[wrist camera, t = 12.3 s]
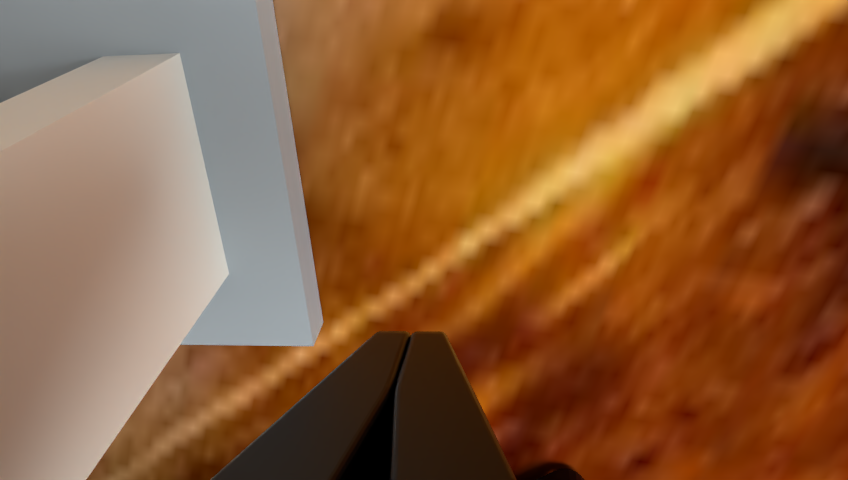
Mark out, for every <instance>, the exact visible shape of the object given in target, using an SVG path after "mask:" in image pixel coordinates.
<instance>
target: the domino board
mask: <svg viewBox="0 0 848 480" xmlns="http://www.w3.org/2000/svg"><path fill="white" fill-rule="evenodd" d="M170 53H180V57H181V61H182V66H183V70H184V75H185V79H186V84H187V88H188V93H189V97H190V101H191V106H192V110H193V115H194V119H195V124H196V128H197V133H198V137H199V142H200V146H201V151H202V155H203V160H204V164H205V169H206V173H207V178H208V182H209V186H210V191H211V195H212V200H213V204H214V209H215V213H216V218H217V222H218V227H219V231H220V236H221V240H222V245H223V249H224V254H225V258H226V263H227V267H228V272H229V275H228V276H227V278H226V279H225V280H224V282H223V283H222V285H221V286H220V288H219V289H218V291H217V292H216V293H215V295H214V296H213V298H212V299H211V301H210V302H209V304H208V305H207V306H206V308H205V309H204V311H203V312H202V314H201V315H200V316H199V318H198V319H197V321H196V322H195V324H194V325H193V327H192V328H191V329H190V331H189V332H188V334H187V335H186V337H185V338H184V340H183V341H182V342H181V344H180V345H253V346H314V344H315V341H316V339H317V336H318V334H319V332H320V329H321V327H322V324H323V317H322V311H321V305H320V298H319V292H318V286H317V279H316V273H315V267H314V260H313V254H312V247H311V241H310V235H309V228H308V222H307V216H306V209H305V203H304V196H303V190H302V184H301V177H300V171H299V165H298V158H297V152H296V146H295V139H294V133H293V126H292V120H291V114H290V107H289V101H288V95H287V88H286V82H285V75H284V69H283V63H282V56H281V50H280V44H279V37H278V31H277V25H276V18H275V12H274V5H273V0H0V103H1V102H4V101H6V100H8V99H10V98H12V97H15V96H17V95H19V94H21V93H23V92H26V91H28V90H30V89H32V88H34V87H37V86H39V85H41V84H43V83H45V82H48V81H50V80H52V79H54V78H56V77H59V76H61V75H63V74H65V73H68V72H70V71H72V70H74V69H76V68H79V67H81V66H83V65H85V64H87V63H90V62H92V61H94V60H96V59H98V58H101V57H103V56H123V55H147V54H170Z"/></svg>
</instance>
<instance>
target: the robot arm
mask: <svg viewBox="0 0 848 480" xmlns="http://www.w3.org/2000/svg"><path fill="white" fill-rule="evenodd" d="M210 480H517V479H516V477H515V475H514V473H513V471H512V469H511V467H510V465H509V463H508V461H507V459H506V457H505V455H504V453H503V451H502V448H501V446H500V444H499V442H498V440H497V438H496V436H495V434H494V432H493V430H492V428H491V426H490V424H489V422H488V420H487V418H486V415H485V413H484V411H483V409H482V407H481V405H480V403H479V401H478V399H477V397H476V395H475V393H474V391H473V389H472V387H471V385H470V382H469V380H468V378H467V376H466V374H465V372H464V370H463V368H462V366H461V364H460V362H459V360H458V358H457V356H456V354H455V351H454V349H453V347H452V345H451V343H450V341H449V339H448V337H447V335H446V334H445V333H444V332H418V331H417V332H414V333H413V334H412V335H410V333H408V332H406V331H379V332H377V333H375V334H374V335H373V336H372V337H371V338H370V339H368V340H367V341H366V342H365V343H364V344H363V345H362V346H361V347H359V348H358V349H357V350H356V351H355V352H354V353H353V354H351V355H350V356H349V357H348V358H347V359H346V360H345V361H344V362H342V363H341V364H340V365H339V366H338V367H337V368H336V369H335V370H333V371H332V372H331V373H330V374H329V375H328V376H327V377H326V378H324V379H323V380H322V381H321V382H320V383H319V384H318V385H317V386H315V387H314V388H313V389H312V390H311V391H310V392H309V393H307V394H306V395H305V396H304V397H303V398H302V399H301V400H300V401H298V402H297V403H296V404H295V405H294V406H293V407H292V408H291V409H289V410H288V411H287V412H286V413H285V414H284V415H283V416H282V417H280V418H279V419H278V420H277V421H276V422H275V423H274V424H273V425H271V426H270V427H269V428H268V429H267V430H266V431H265V432H263V433H262V434H261V435H260V436H259V437H258V438H257V439H256V440H254V441H253V442H252V443H251V444H250V445H249V446H248V447H247V448H245V449H244V450H243V451H242V452H241V453H240V454H239V455H238V456H236V457H235V458H234V459H233V460H232V461H231V462H230V463H228V464H227V465H226V466H225V467H224V468H223V469H222V470H221V471H219V472H218V473H217V474H216V475H215V476H214V477H213V478H212V479H210ZM535 480H584V479H583V478H582V477H581V475H579V474H578V473H577V472H575V471H572V470H569V469H560V470H556V471H553V472H551V473H549V474H547V475H544V476H542V477H540V478H538V479H535Z"/></svg>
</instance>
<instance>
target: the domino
mask: <svg viewBox="0 0 848 480" xmlns="http://www.w3.org/2000/svg"><path fill="white" fill-rule="evenodd" d="M228 275H229V272H228V267H227V263H226V258H225V254H224V249H223V245H222V240H221V236H220V231H219V227H218V222H217V218H216V213H215V209H214V204H213V200H212V195H211V191H210V186H209V182H208V178H207V173H206V169H205V164H204V160H203V155H202V151H201V146H200V142H199V137H198V133H197V128H196V124H195V119H194V115H193V110H192V106H191V101H190V97H189V93H188V88H187V84H186V79H185V75H184V70H183V66H182V61H181V57H180V53H170V54H147V55H123V56H103V57H101V58H98V59H96V60H94V61H92V62H90V63H87V64H85V65H83V66H81V67H79V68H76V69H74V70H72V71H70V72H68V73H65V74H63V75H61V76H59V77H56V78H54V79H52V80H50V81H48V82H45V83H43V84H41V85H39V86H37V87H34V88H32V89H30V90H28V91H26V92H23V93H21V94H19V95H17V96H15V97H12V98H10V99H8V100H6V101H4V102H1V103H0V480H86V479H87V478H88V476H89V475H90V473H91V472H92V471H93V469H94V468H95V466H96V465H97V463H98V462H99V461H100V459H101V458H102V456H103V455H104V453H105V452H106V450H107V449H108V448H109V446H110V445H111V443H112V442H113V440H114V439H115V437H116V436H117V435H118V433H119V432H120V430H121V429H122V427H123V426H124V425H125V423H126V422H127V420H128V419H129V417H130V416H131V414H132V413H133V412H134V410H135V409H136V407H137V406H138V404H139V403H140V401H141V400H142V399H143V397H144V396H145V394H146V393H147V391H148V390H149V389H150V387H151V386H152V384H153V383H154V381H155V380H156V378H157V377H158V376H159V374H160V373H161V371H162V370H163V368H164V367H165V365H166V364H167V363H168V361H169V360H170V358H171V357H172V355H173V354H174V352H175V351H176V350H177V348H178V347H179V345H180V344H181V342H182V341H183V340H184V338H185V337H186V335H187V334H188V332H189V331H190V329H191V328H192V327H193V325H194V324H195V322H196V321H197V319H198V318H199V316H200V315H201V314H202V312H203V311H204V309H205V308H206V306H207V305H208V304H209V302H210V301H211V299H212V298H213V296H214V295H215V293H216V292H217V291H218V289H219V288H220V286H221V285H222V283H223V282H224V280H225V279H226V278H227V276H228Z"/></svg>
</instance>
